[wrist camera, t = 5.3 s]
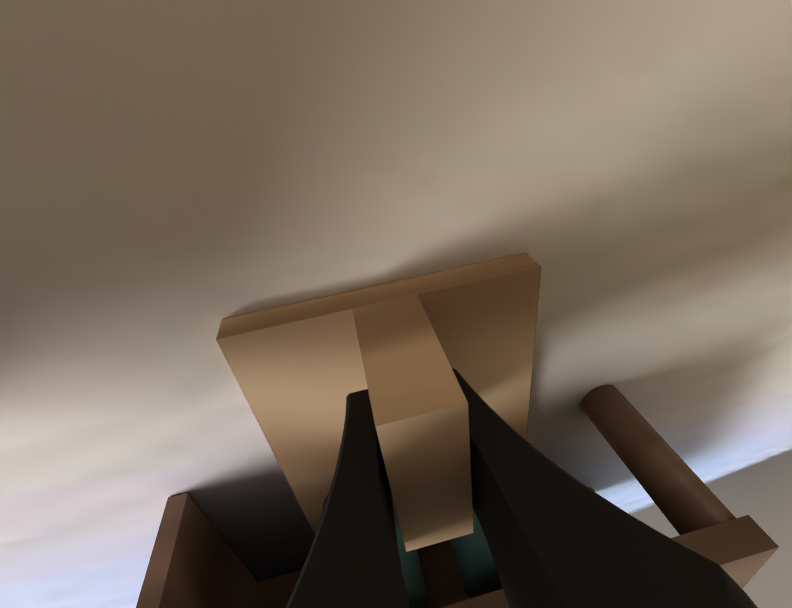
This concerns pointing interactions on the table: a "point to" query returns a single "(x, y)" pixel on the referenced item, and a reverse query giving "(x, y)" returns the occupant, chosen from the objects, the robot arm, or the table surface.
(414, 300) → the tray
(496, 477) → the robot arm
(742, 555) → the wooden caddy
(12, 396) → the table surface
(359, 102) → the table surface
